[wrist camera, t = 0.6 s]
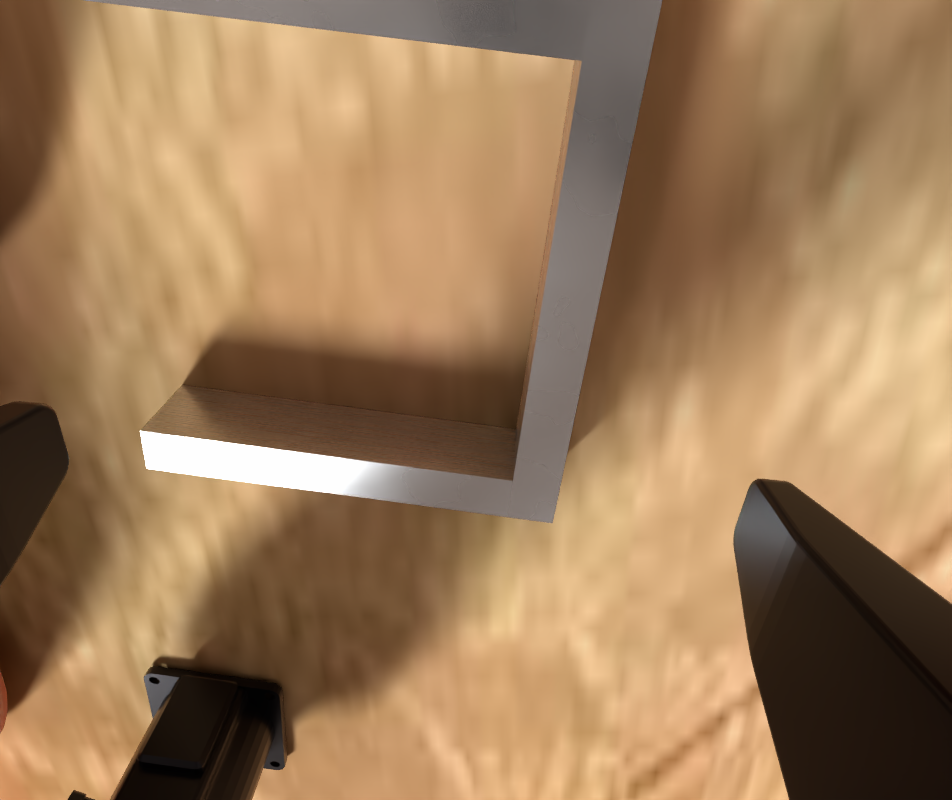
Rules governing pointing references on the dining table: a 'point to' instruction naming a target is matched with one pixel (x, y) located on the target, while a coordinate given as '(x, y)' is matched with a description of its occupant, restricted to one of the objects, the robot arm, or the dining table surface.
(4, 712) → the planter
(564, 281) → the grey square frame
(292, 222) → the dining table surface
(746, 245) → the dining table surface
